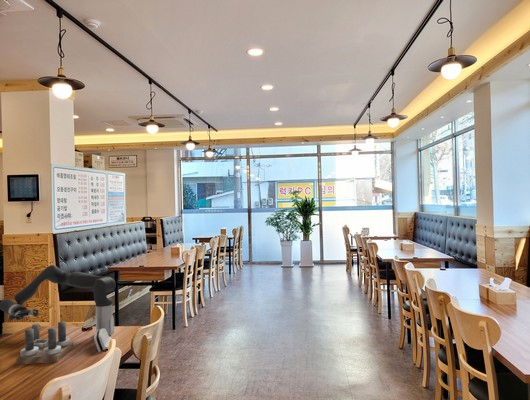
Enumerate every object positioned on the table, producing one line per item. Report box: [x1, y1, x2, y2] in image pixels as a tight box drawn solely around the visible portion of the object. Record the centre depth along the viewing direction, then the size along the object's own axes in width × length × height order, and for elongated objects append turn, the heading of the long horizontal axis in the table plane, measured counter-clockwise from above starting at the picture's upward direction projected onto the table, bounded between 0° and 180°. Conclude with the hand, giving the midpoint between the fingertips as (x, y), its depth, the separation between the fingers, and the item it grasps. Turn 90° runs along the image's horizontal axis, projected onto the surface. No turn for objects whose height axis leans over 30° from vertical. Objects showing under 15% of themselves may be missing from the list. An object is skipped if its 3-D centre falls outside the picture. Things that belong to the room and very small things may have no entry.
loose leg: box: [31, 323, 41, 341], centre depth 207 cm, size 4×4×12 cm
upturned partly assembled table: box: [15, 320, 74, 365], centre depth 194 cm, size 19×19×15 cm
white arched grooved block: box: [93, 328, 113, 353], centre depth 206 cm, size 17×5×10 cm, turn 15°
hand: (27, 316), depth 214 cm, fingers open, 8 cm apart
